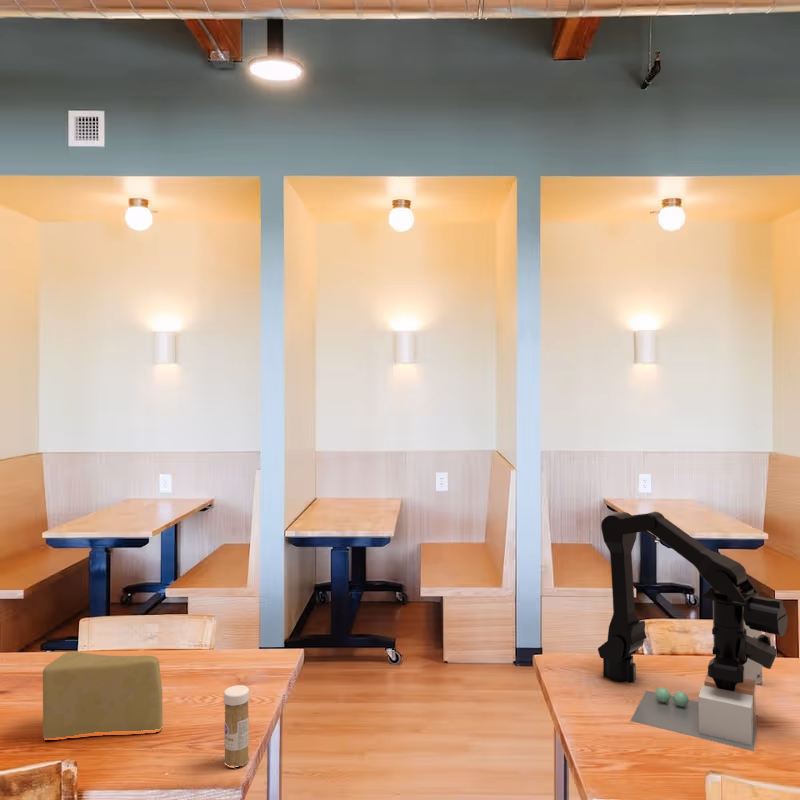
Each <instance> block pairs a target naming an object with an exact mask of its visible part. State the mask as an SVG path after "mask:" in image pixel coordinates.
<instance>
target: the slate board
mask: <svg viewBox="0 0 800 800" xmlns="http://www.w3.org/2000/svg"><path fill="white" fill-rule="evenodd" d="M655 693H656V691H651V690H645V692H644V693H643V696H642V698H641V699H640V701H639V704H638V706H637V707H636V708H635V711H634V713H633V715H632V717H631V719H630V722H633V723H638V724H642V725H645V726H650V727H653V728H658V729H662V730H665V731H670V732H673V733H679V734H683V735H686V736H690V737H694V738H700V739H702V740H706V741H710V742H715V743H718V744H724V745H727V746H730V747H731V746H732V747H735V748H739V749H744V750H748V751H752V752H754V751H755V746H756V737H757V729H758V719H759V714H756V719H755V727H754V726H753V738H752V745H748V744H744V743H740V742H736V741H732V740H727V739H723V738H719V737H715V736H711V735H707V734H703V733H699V701H698V700H697V701H696V700H692V699H689V702H688V704H687V705H686V706H684V707H680V706H678V705H676V703H675V702H674V700H673V696H674V695H670V700H669V701H668V702H666V703H662V702H660V701H659V700H658V699H657V698H656V695H655Z"/></svg>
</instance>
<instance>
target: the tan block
mask: <svg viewBox="0 0 800 800" xmlns="http://www.w3.org/2000/svg"><path fill="white" fill-rule="evenodd" d="M703 683H704V684H703V685H704V686H709V687H714V688H717V686H716V684H715V682H714V680H713V678H711V677H709V676H708V671H707V673H706V676H705V678H704V681H703ZM756 691H757V685H756V680H752V679H747V678H744V682H743V683H738V684H736V686H735V691H734V692H738V693H743V694H748V695H753V726H754V727H755V719H756V715H757V693H756Z"/></svg>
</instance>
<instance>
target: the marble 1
mask: <svg viewBox="0 0 800 800" xmlns="http://www.w3.org/2000/svg"><path fill="white" fill-rule="evenodd" d="M655 692H656V693H655V695H656V698H657V699H658V700H659V701H660V702H662V703H666V702H668V701H669V700H670V696H671V693H670V690H668V689H667V688H665V687H663V686H662V687H658V688H657V689H656V690H655Z"/></svg>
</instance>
